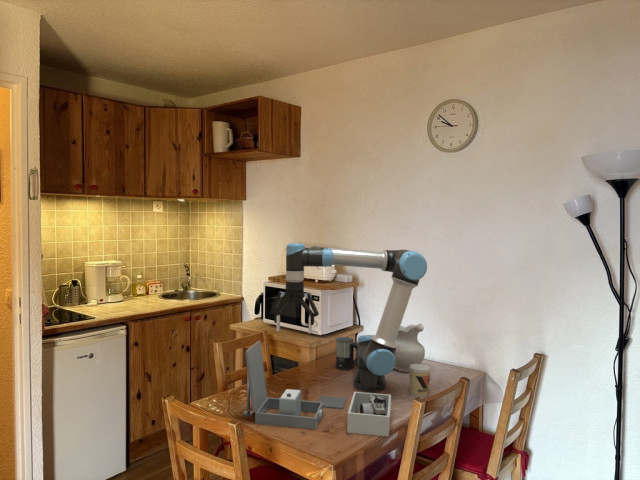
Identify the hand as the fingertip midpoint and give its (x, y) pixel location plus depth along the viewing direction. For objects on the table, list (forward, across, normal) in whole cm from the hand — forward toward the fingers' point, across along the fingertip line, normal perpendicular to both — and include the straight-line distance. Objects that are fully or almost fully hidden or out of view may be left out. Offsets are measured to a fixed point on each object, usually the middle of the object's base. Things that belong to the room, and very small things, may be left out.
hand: (294, 331), depth 196 cm
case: (+29, -3, +18) cm, 34 cm away
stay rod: (+28, +13, +18) cm, 36 cm away
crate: (+29, -33, +15) cm, 46 cm away
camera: (+29, -34, +15) cm, 47 cm away
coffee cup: (+29, -52, -20) cm, 63 cm away
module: (+29, -3, +18) cm, 34 cm away
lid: (+13, +10, +18) cm, 24 cm away
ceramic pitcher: (+29, -45, -54) cm, 76 cm away
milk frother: (+29, -18, -51) cm, 61 cm away
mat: (+29, -16, 0) cm, 33 cm away
